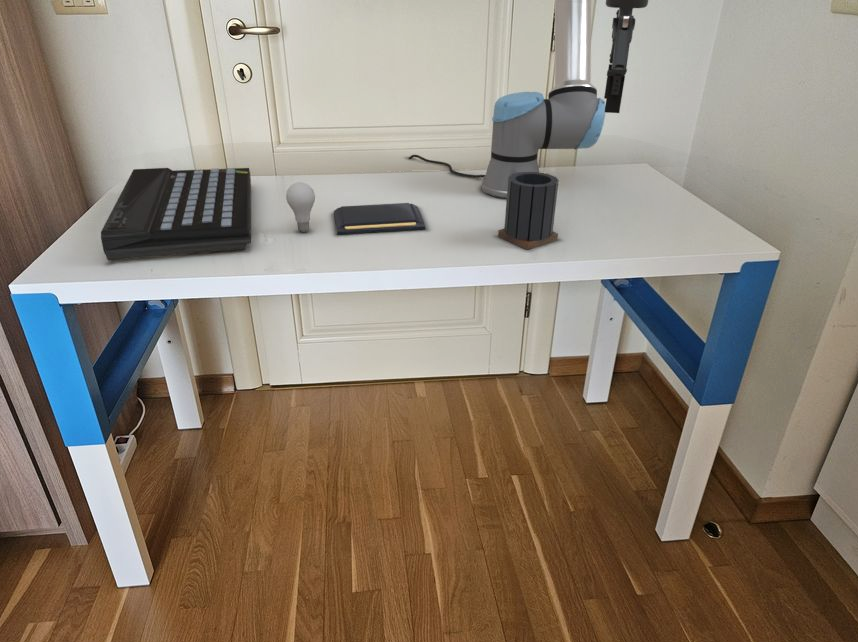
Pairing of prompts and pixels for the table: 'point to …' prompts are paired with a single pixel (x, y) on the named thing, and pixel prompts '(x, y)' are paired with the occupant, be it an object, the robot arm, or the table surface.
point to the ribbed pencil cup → (530, 205)
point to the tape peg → (527, 243)
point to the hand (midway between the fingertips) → (611, 105)
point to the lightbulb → (301, 203)
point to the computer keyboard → (179, 213)
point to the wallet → (378, 218)
